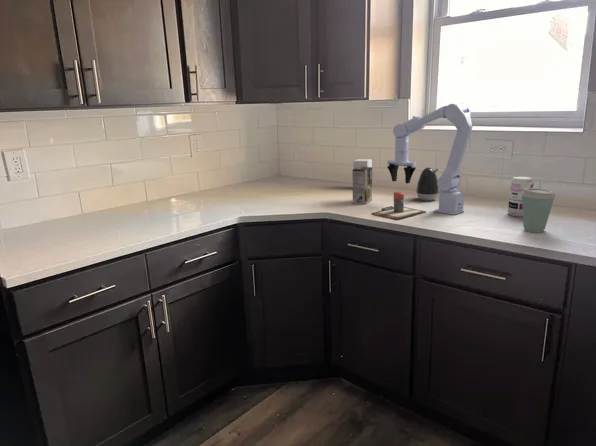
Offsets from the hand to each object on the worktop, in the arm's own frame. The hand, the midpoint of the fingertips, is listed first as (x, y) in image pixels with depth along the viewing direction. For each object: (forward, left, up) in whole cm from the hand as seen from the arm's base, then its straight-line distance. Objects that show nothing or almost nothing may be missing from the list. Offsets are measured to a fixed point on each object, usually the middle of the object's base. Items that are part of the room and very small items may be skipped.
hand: (400, 182), depth 209 cm
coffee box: (+16, +8, -11) cm, 21 cm away
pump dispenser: (-2, -17, -11) cm, 20 cm away
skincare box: (+39, -16, -11) cm, 43 cm away
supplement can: (-45, -19, -11) cm, 50 cm away
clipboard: (-10, +13, -10) cm, 19 cm away
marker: (-10, +13, -10) cm, 19 cm away
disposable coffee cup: (-60, -1, -11) cm, 61 cm away
